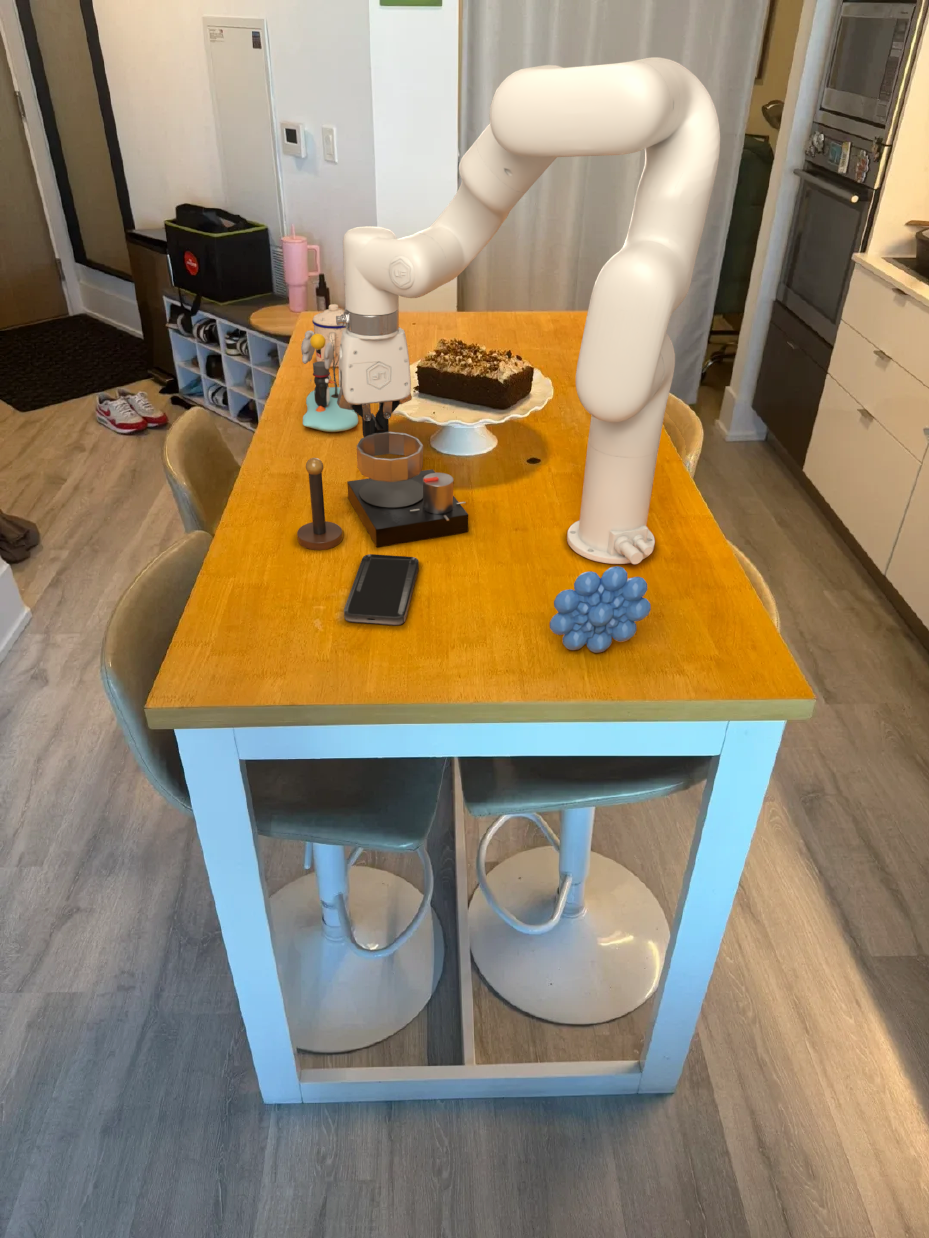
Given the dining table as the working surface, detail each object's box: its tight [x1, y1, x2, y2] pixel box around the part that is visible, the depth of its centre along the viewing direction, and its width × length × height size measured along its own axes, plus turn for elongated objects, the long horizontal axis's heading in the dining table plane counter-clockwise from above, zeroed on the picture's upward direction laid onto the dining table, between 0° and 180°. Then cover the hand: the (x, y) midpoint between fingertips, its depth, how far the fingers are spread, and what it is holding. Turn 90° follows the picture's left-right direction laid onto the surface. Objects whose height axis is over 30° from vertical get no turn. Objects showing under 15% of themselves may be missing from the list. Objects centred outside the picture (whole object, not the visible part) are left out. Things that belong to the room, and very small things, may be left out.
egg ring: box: [356, 412, 424, 482], centre depth 136 cm, size 16×9×4 cm, turn 21°
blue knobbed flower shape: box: [549, 565, 652, 654], centre depth 107 cm, size 12×7×12 cm, turn 89°
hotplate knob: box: [423, 472, 454, 514], centre depth 132 cm, size 4×4×5 cm
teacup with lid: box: [311, 303, 347, 368], centre depth 189 cm, size 12×9×12 cm
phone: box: [343, 553, 420, 626], centre depth 119 cm, size 8×1×15 cm
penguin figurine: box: [300, 330, 359, 433], centre depth 164 cm, size 20×11×15 cm, turn 1°
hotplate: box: [346, 468, 469, 548], centre depth 136 cm, size 17×15×3 cm
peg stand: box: [296, 457, 344, 551], centre depth 127 cm, size 6×6×13 cm
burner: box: [359, 479, 423, 508], centre depth 137 cm, size 10×10×1 cm
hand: (375, 440), depth 140 cm, fingers closed on egg ring, 1 cm apart
